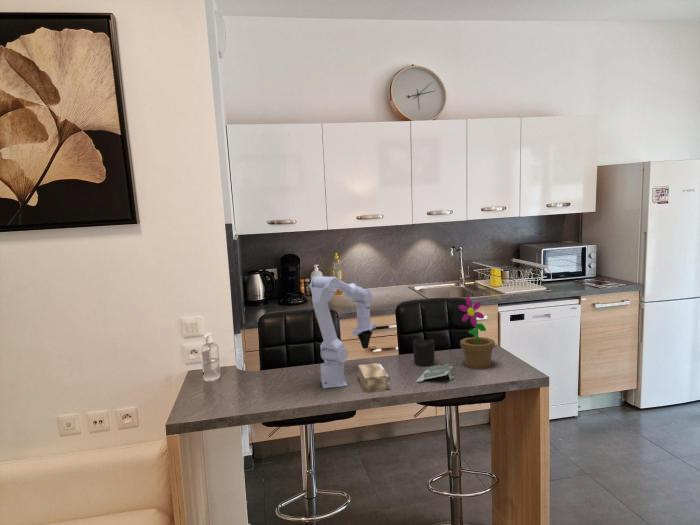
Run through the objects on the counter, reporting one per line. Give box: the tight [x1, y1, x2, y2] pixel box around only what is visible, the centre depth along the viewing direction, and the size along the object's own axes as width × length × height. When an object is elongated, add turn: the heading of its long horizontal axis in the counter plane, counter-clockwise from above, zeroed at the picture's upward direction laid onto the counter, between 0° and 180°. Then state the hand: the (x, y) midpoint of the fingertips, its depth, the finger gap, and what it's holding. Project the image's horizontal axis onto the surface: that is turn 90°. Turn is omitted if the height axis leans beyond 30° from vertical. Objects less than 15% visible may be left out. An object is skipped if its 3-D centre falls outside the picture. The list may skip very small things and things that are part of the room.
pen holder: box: [412, 338, 435, 367], centre depth 212 cm, size 9×9×10 cm
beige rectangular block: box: [357, 362, 391, 393], centre depth 191 cm, size 10×16×6 cm, turn 9°
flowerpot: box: [458, 296, 496, 369], centre depth 205 cm, size 14×14×30 cm
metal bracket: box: [415, 363, 455, 383], centre depth 194 cm, size 14×6×15 cm
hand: (365, 348), depth 208 cm, fingers closed
